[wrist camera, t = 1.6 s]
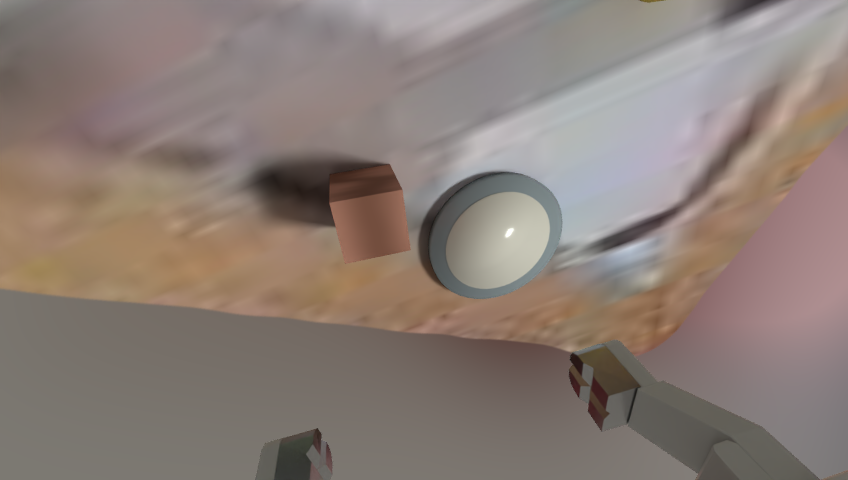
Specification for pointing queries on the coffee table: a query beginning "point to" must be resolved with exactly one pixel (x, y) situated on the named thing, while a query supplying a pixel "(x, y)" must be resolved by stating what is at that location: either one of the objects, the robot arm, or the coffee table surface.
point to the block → (368, 213)
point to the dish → (494, 235)
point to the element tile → (650, 0)
